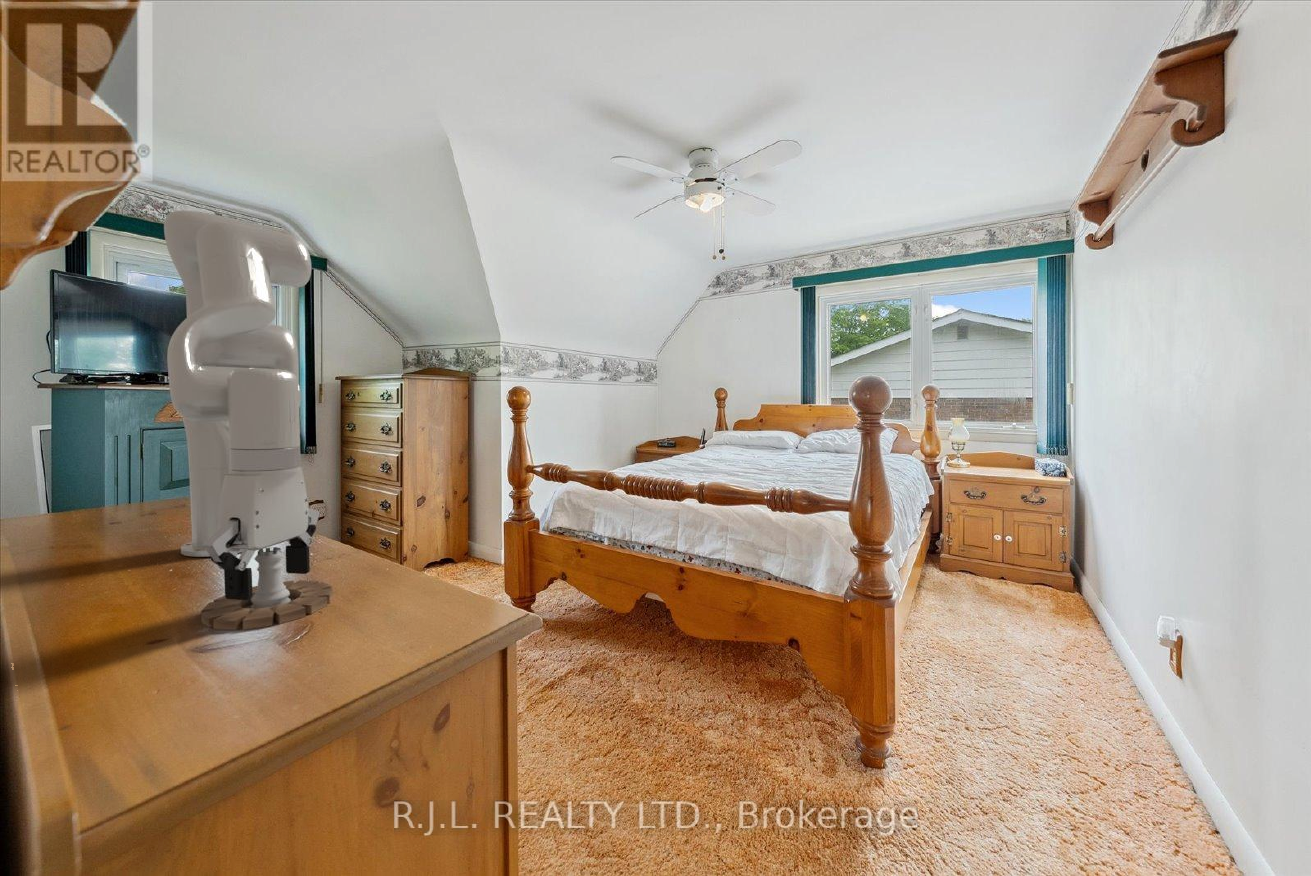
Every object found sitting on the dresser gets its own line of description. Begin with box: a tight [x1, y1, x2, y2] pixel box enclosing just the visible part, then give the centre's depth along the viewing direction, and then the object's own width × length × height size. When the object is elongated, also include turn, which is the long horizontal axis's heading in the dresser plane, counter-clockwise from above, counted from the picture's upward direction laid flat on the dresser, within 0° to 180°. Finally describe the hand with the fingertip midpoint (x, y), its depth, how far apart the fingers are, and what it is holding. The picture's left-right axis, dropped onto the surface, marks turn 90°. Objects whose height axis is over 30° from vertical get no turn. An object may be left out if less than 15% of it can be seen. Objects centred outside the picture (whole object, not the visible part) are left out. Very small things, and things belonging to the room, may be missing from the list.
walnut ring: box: [200, 579, 334, 631], centre depth 70 cm, size 14×14×1 cm
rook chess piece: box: [249, 546, 292, 609], centre depth 70 cm, size 4×4×8 cm
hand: (270, 584), depth 70 cm, fingers open, 9 cm apart
